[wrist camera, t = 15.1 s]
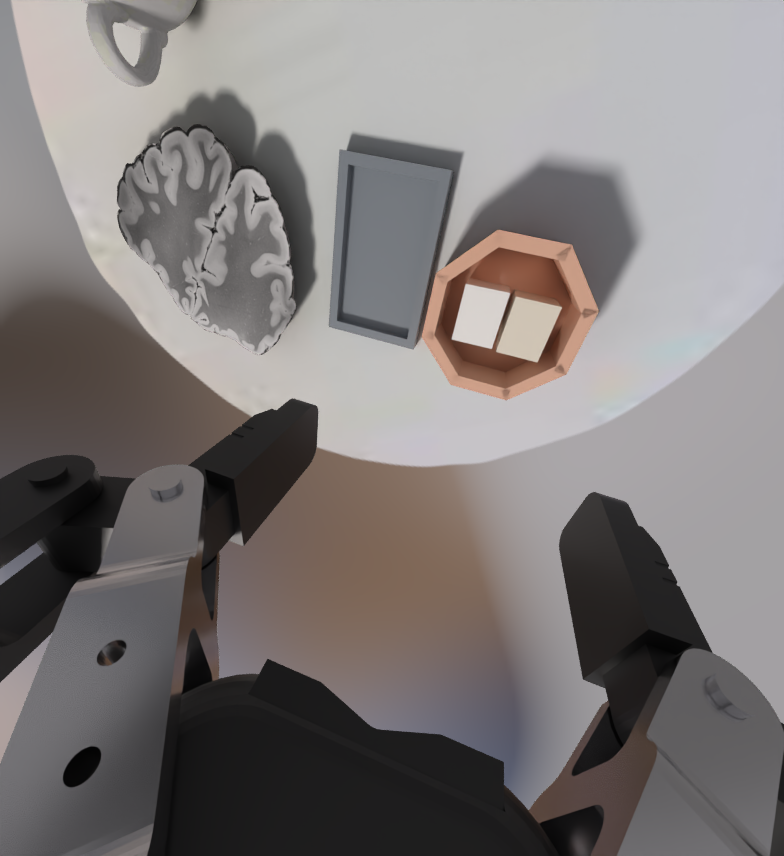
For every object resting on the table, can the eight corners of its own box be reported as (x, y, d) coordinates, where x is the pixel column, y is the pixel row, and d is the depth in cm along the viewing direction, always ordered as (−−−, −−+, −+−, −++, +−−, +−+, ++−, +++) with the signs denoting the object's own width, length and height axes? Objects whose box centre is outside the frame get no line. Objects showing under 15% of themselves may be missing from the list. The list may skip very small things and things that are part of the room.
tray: (345, 152, 26) (339, 149, 25) (453, 172, 25) (451, 170, 24) (333, 323, 34) (328, 326, 33) (415, 345, 33) (413, 349, 32)
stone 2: (514, 289, 27) (516, 296, 24) (555, 298, 27) (562, 307, 24) (496, 339, 30) (496, 351, 27) (533, 349, 29) (537, 362, 26)
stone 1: (469, 278, 28) (465, 283, 25) (509, 286, 27) (510, 293, 24) (456, 328, 30) (451, 339, 27) (492, 337, 30) (491, 349, 27)
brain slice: (347, 238, 30) (334, 238, 27) (275, 366, 39) (260, 375, 37) (165, 70, 27) (132, 55, 25) (135, 251, 37) (109, 253, 34)
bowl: (455, 220, 27) (447, 219, 23) (608, 252, 25) (627, 256, 21) (423, 357, 33) (413, 374, 29) (541, 389, 32) (547, 411, 28)
